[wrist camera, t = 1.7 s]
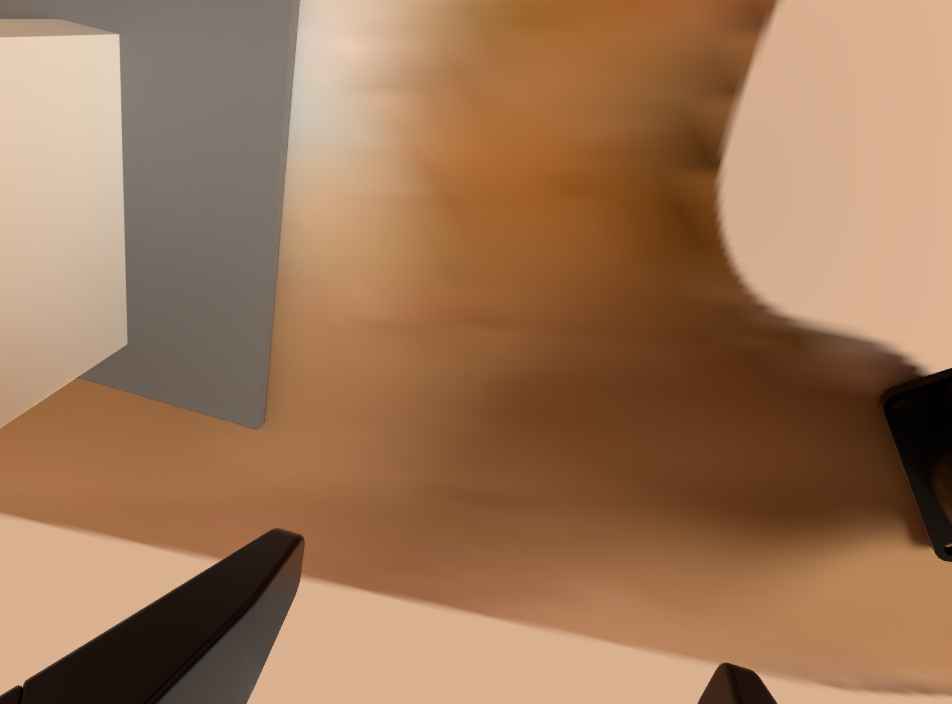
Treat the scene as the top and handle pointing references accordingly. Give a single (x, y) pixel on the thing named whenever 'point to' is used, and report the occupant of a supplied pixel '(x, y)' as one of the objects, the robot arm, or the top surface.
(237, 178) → the mat
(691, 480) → the top surface
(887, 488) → the top surface
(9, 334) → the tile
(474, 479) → the top surface
